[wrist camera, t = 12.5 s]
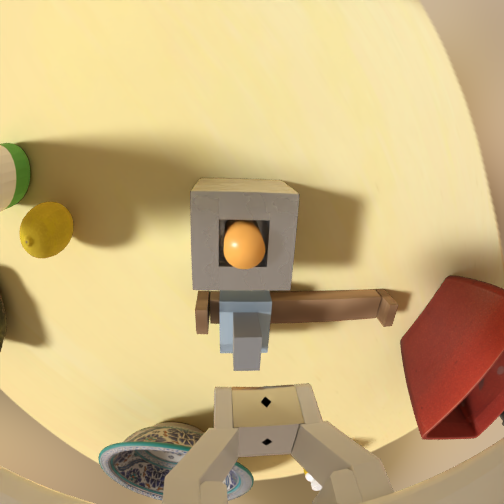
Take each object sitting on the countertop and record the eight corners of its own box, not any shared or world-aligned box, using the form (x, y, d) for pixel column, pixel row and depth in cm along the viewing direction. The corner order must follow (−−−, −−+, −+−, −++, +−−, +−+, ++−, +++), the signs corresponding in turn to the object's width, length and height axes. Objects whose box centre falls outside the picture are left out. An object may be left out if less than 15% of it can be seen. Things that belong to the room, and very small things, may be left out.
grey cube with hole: (200, 178, 28) (190, 191, 21) (281, 180, 29) (299, 194, 22) (200, 255, 31) (193, 291, 24) (275, 256, 32) (289, 292, 24)
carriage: (220, 279, 32) (218, 326, 24) (266, 279, 32) (278, 325, 24) (220, 327, 34) (220, 379, 26) (262, 326, 35) (272, 378, 27)
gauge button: (224, 212, 25) (223, 229, 21) (259, 213, 26) (266, 230, 21) (224, 245, 26) (223, 269, 22) (257, 246, 27) (264, 269, 22)
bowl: (153, 370, 37) (140, 423, 28) (278, 433, 44) (287, 477, 35) (92, 429, 42) (79, 467, 33) (196, 476, 50) (195, 511, 41)
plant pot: (369, 352, 39) (419, 441, 23) (447, 243, 33) (535, 302, 18) (433, 375, 43) (476, 438, 28) (495, 292, 38) (555, 343, 22)
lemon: (91, 210, 28) (55, 233, 21) (75, 250, 30) (40, 280, 22) (56, 186, 27) (14, 202, 19) (41, 226, 28) (2, 250, 21)
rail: (198, 291, 33) (195, 310, 29) (383, 288, 35) (398, 304, 31) (199, 313, 34) (196, 333, 30) (378, 309, 36) (391, 325, 32)
